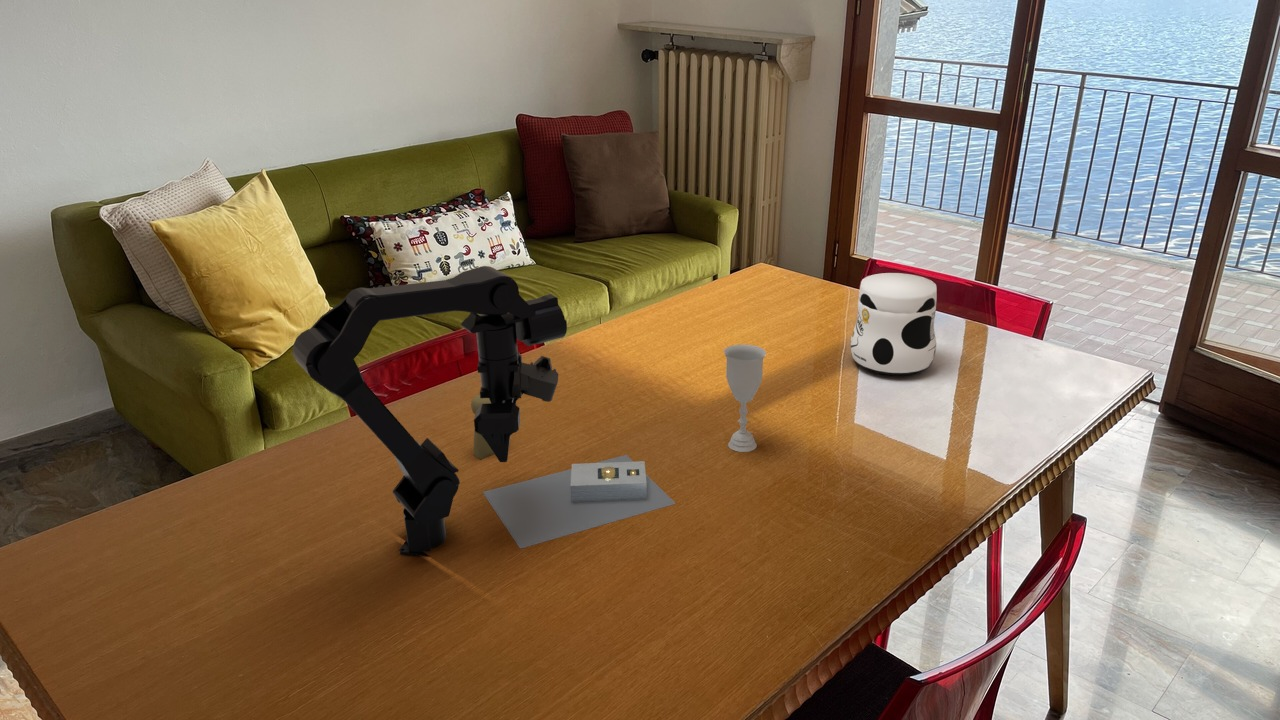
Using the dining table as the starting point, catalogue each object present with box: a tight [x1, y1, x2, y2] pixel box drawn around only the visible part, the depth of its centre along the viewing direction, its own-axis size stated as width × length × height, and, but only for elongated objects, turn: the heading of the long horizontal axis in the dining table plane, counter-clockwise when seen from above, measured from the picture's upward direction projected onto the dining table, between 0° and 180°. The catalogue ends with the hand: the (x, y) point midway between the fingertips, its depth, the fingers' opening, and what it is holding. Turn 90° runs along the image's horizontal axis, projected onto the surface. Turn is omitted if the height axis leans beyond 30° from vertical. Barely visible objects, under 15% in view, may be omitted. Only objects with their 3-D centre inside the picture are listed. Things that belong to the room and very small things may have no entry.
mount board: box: [482, 454, 677, 550], centre depth 151 cm, size 26×18×1 cm
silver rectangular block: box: [571, 460, 647, 502], centre depth 152 cm, size 12×7×3 cm, turn 92°
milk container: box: [850, 272, 938, 376], centre depth 195 cm, size 17×17×18 cm
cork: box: [470, 393, 495, 460], centre depth 165 cm, size 6×6×11 cm
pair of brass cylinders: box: [601, 467, 636, 479], centre depth 152 cm, size 6×2×4 cm, turn 92°
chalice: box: [723, 344, 767, 453], centre depth 164 cm, size 7×7×18 cm
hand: (506, 446), depth 144 cm, fingers open, 9 cm apart
